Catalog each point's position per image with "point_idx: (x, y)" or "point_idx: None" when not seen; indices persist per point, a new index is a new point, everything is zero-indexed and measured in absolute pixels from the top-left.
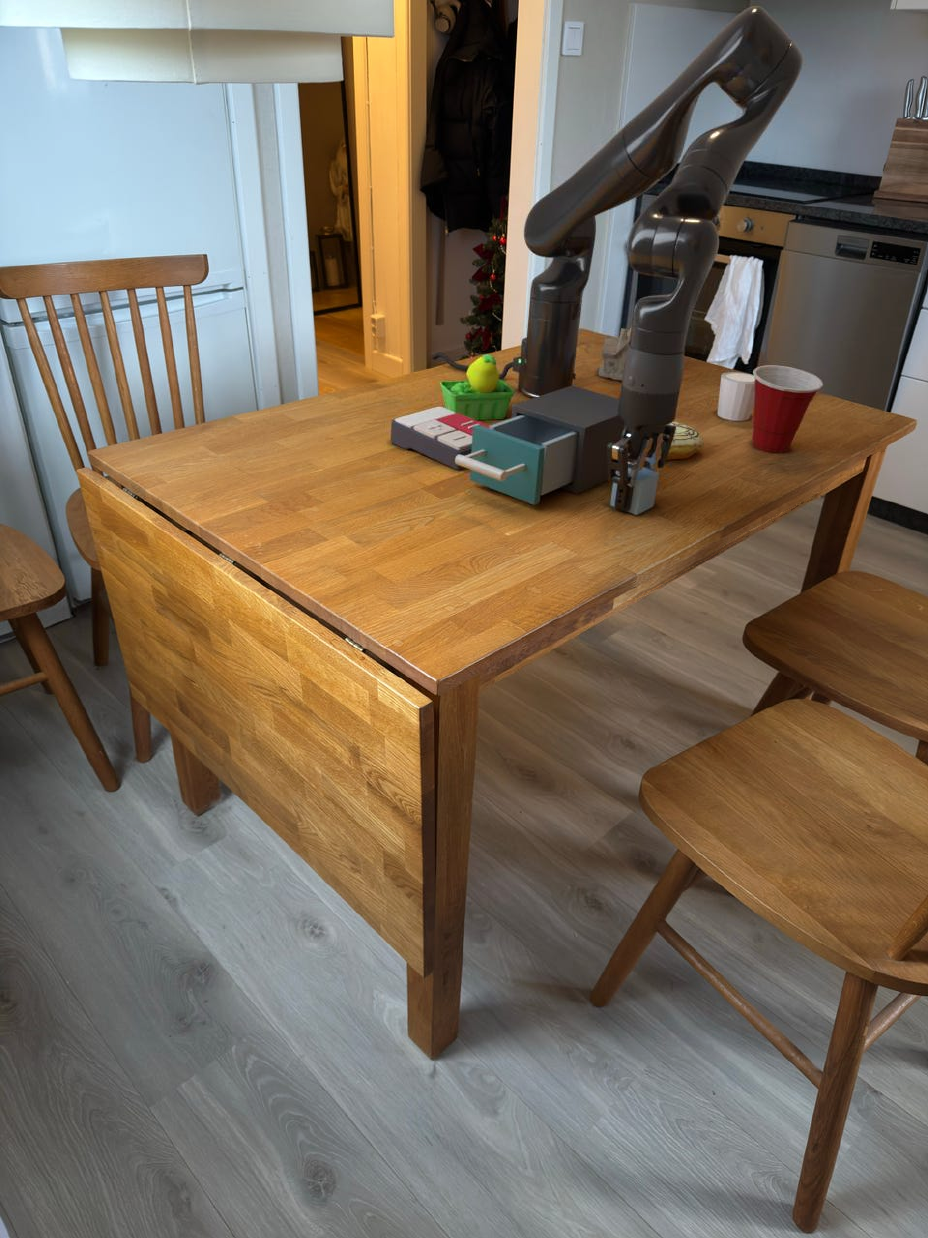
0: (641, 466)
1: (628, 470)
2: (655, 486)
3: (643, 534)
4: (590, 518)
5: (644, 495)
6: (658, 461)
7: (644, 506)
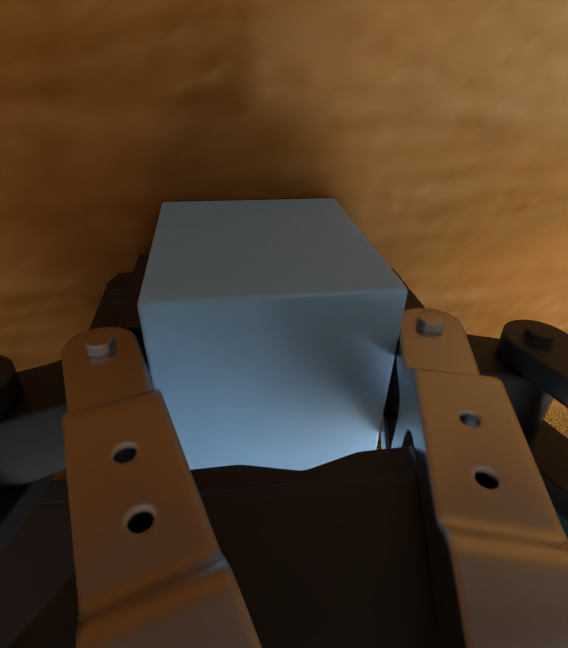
0: (454, 387)
1: (290, 440)
2: (171, 251)
3: (537, 25)
4: (488, 310)
5: (306, 235)
6: (5, 416)
7: (269, 208)
